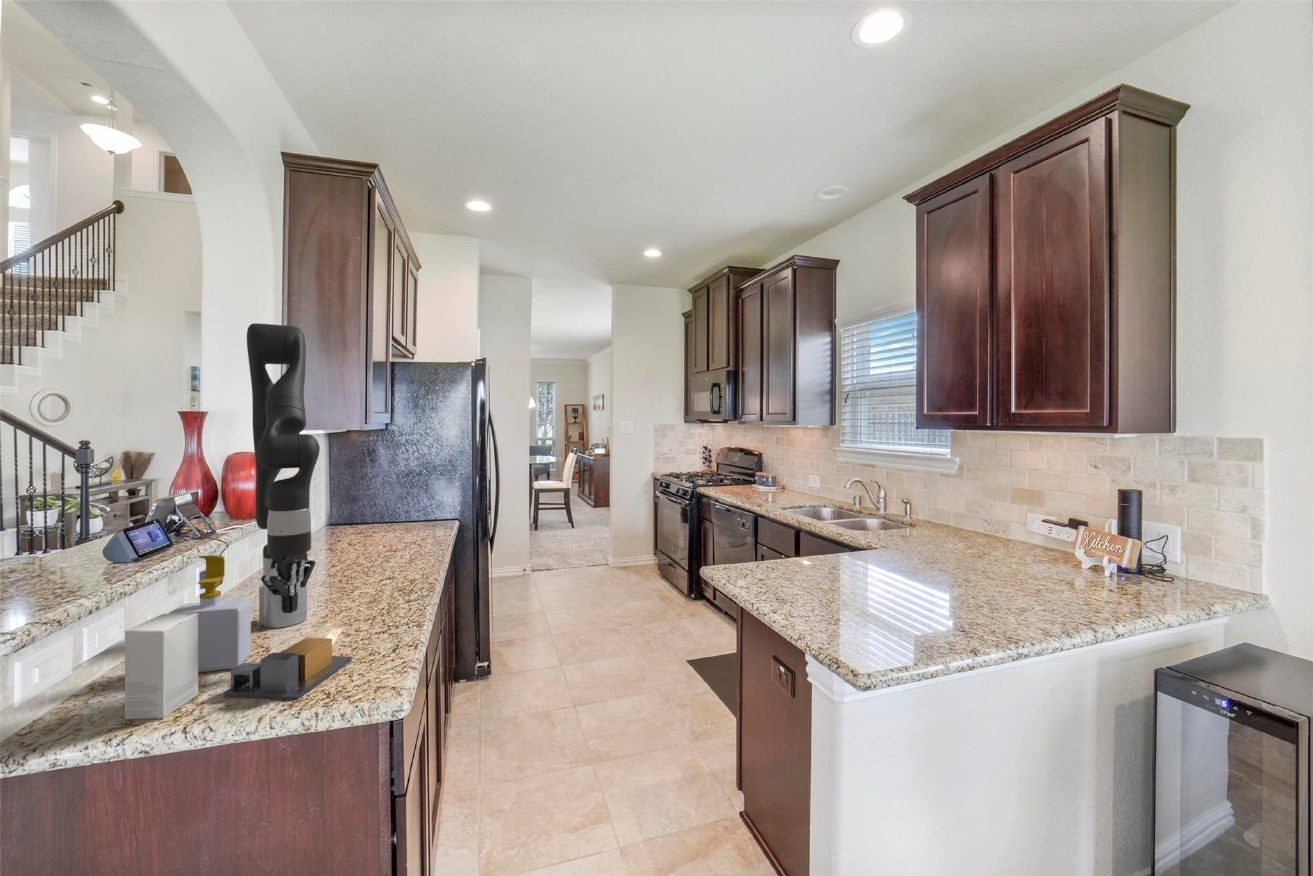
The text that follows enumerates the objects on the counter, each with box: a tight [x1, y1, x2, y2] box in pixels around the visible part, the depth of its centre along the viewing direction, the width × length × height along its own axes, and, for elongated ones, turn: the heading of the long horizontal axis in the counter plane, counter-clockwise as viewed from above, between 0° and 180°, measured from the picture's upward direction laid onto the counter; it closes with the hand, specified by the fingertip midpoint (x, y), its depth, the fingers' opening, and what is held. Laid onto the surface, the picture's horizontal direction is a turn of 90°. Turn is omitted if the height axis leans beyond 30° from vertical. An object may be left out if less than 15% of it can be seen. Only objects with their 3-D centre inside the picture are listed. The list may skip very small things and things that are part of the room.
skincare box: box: [124, 613, 199, 720], centre depth 94 cm, size 8×7×16 cm
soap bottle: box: [167, 554, 252, 673], centre depth 110 cm, size 12×7×23 cm, turn 108°
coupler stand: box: [223, 652, 352, 700], centre depth 105 cm, size 14×16×7 cm
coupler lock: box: [279, 637, 333, 681], centre depth 106 cm, size 6×8×5 cm
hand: (289, 611), depth 111 cm, fingers closed
